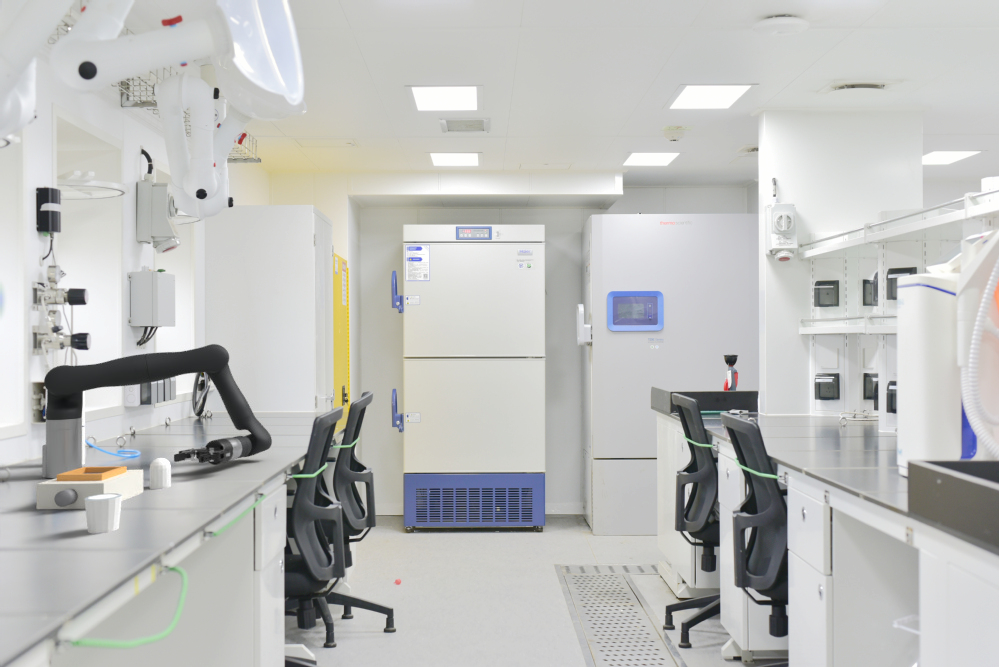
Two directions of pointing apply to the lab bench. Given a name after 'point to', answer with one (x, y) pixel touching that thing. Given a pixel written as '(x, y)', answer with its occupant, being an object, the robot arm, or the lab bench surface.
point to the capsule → (160, 474)
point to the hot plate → (88, 486)
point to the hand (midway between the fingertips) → (187, 458)
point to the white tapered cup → (103, 512)
